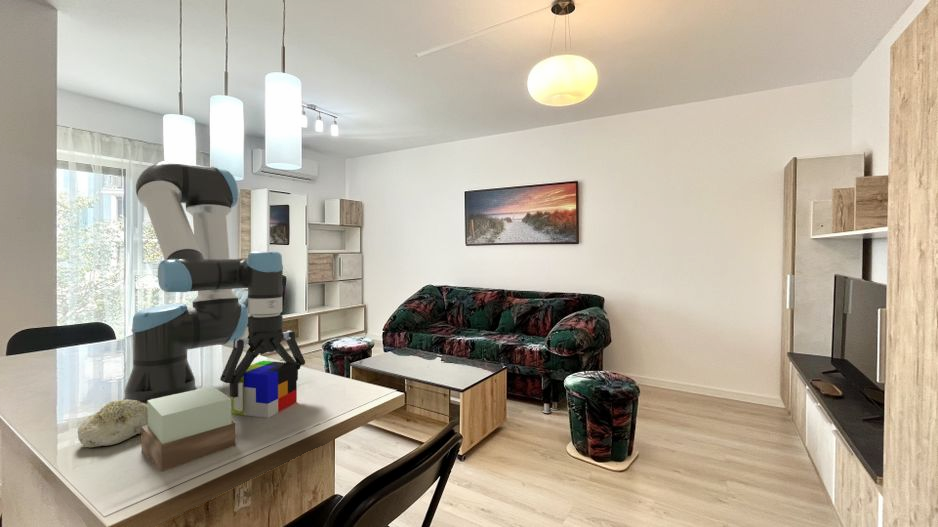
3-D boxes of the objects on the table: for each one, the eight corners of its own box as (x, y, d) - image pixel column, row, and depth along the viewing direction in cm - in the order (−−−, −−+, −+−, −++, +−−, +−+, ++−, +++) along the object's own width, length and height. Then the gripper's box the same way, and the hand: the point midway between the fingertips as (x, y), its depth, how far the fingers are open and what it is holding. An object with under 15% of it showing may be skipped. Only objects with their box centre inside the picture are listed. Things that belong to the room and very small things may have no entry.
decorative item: (129, 402, 90) (159, 388, 87) (135, 441, 88) (166, 428, 85) (60, 416, 78) (92, 401, 76) (66, 461, 77) (99, 447, 74)
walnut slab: (141, 452, 76) (141, 426, 76) (211, 430, 86) (211, 407, 86) (161, 473, 69) (161, 445, 69) (235, 447, 79) (235, 422, 79)
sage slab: (147, 425, 77) (147, 400, 77) (212, 409, 85) (212, 386, 85) (162, 444, 70) (161, 416, 70) (231, 423, 78) (231, 398, 78)
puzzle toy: (268, 418, 92) (267, 375, 91) (232, 413, 94) (231, 371, 94) (296, 402, 101) (296, 363, 101) (263, 398, 104) (263, 360, 103)
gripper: (217, 323, 85) (217, 422, 86) (319, 310, 104) (319, 391, 105) (202, 319, 89) (203, 413, 90) (303, 307, 109) (303, 385, 110)
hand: (266, 401), depth 98 cm, fingers closed on puzzle toy, 12 cm apart
